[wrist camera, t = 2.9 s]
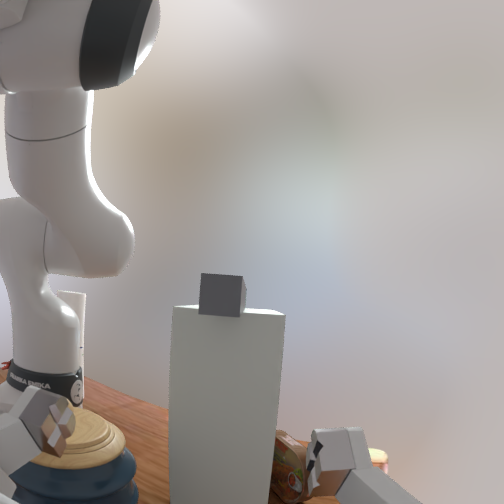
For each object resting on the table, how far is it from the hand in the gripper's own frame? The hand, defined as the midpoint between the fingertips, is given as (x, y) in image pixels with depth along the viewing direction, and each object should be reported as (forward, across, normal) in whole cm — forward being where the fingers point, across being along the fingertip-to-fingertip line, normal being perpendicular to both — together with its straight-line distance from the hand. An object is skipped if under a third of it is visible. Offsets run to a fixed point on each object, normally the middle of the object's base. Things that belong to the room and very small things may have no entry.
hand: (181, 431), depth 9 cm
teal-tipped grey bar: (+20, 0, +8) cm, 22 cm away
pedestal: (+12, 0, +33) cm, 35 cm away
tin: (+16, -8, +36) cm, 40 cm away
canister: (0, +13, +26) cm, 29 cm away
